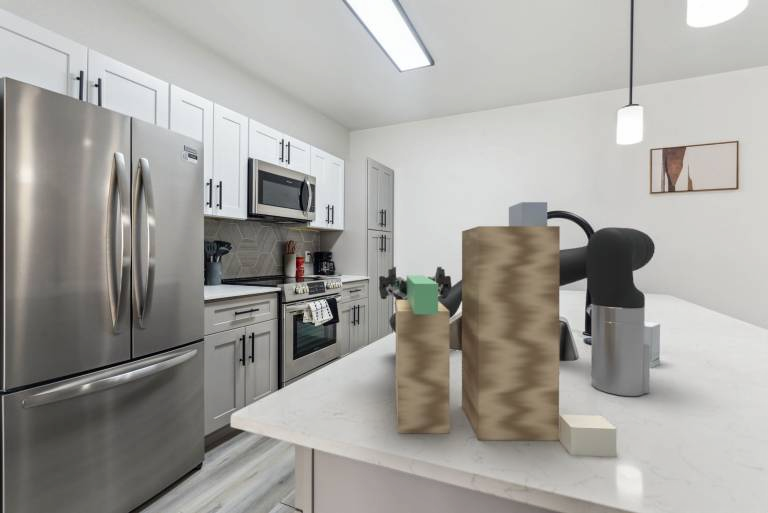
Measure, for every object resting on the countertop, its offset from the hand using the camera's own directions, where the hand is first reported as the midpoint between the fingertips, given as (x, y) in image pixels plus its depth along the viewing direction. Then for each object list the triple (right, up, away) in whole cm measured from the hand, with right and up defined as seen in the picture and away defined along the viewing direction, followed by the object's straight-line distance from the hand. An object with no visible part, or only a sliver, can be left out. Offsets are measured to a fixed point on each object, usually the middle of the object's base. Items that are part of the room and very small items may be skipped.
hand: (416, 270), depth 67 cm
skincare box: (+58, -25, +27) cm, 69 cm away
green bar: (0, -6, -4) cm, 7 cm away
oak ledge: (0, -25, -4) cm, 25 cm away
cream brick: (+23, -25, -15) cm, 37 cm away
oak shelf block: (+14, -25, -7) cm, 29 cm away
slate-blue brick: (+18, +7, -7) cm, 20 cm away
